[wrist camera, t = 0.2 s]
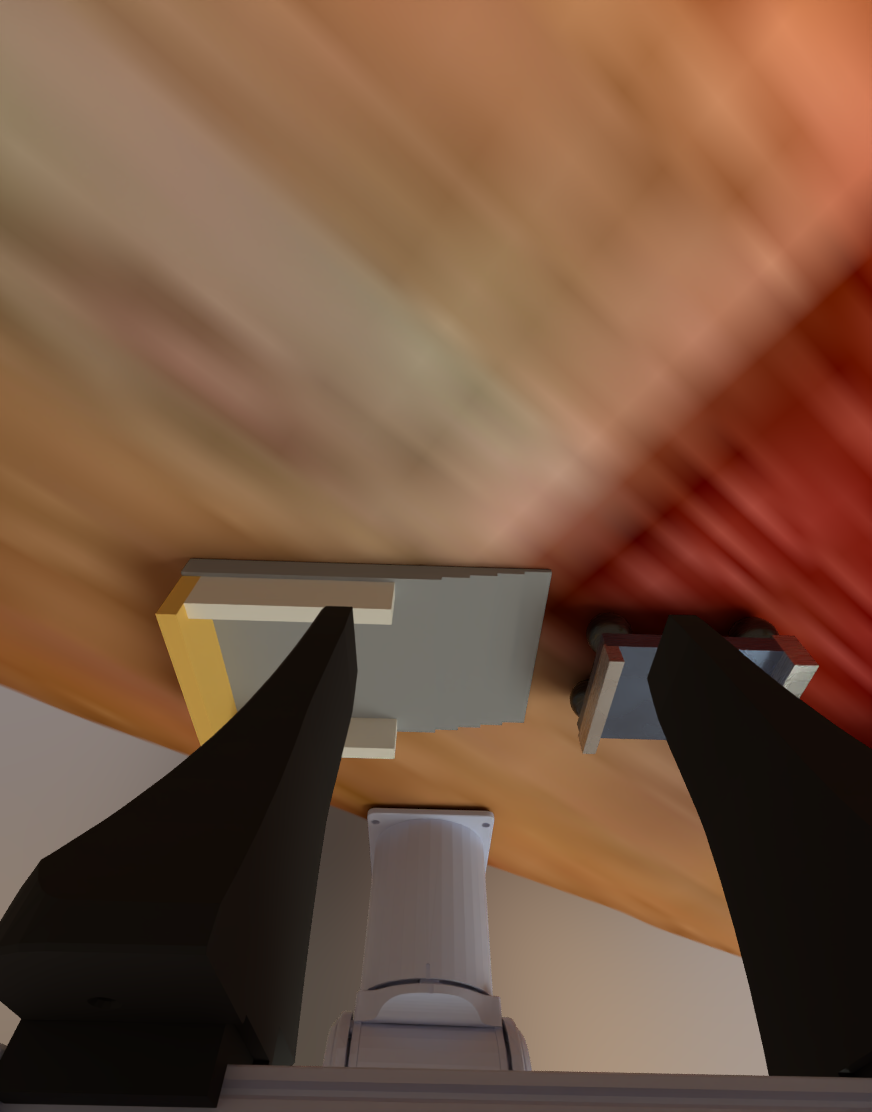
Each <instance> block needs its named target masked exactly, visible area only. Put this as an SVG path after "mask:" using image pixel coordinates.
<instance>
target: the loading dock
mask: <svg viewBox="0 0 872 1112" xmlns="http://www.w3.org/2000/svg"><path fill="white" fill-rule="evenodd" d="M181 574H182V577H181V578H180V579H179V581H178V582H177V584H176V585H175V587H174V588H173V589H172V591H171V592H170V594H169V595H168V597H167V598H166V599H165V601H164V602H163V604H162V605H161V607H160V608H159V609H158V611H157V612H156V614H155V615H156V617H157V620H158V623H159V626H160V629H161V632H162V635H163V638H164V641H165V644H166V647H167V649H168V652H169V655H170V658H171V661H172V664H173V667H174V670H175V673H176V676H177V678H178V681H179V684H180V687H181V690H182V693H183V696H184V699H185V702H186V705H187V707H188V710H189V713H190V716H191V719H192V722H193V725H194V728H195V731H196V734H197V737H198V739H199V742H200V745H201V746H202V745H203V744H204V743H205V742H206V741H207V740H209V739H210V738H211V737H212V736H213V735H214V734H215V733H216V732H217V731H218V730H219V729H221V728H222V727H223V726H224V725H225V724H226V723H227V722H228V721H229V720H230V719H231V718H232V717H233V716H234V715H235V714H236V713H237V712H238V711H239V710H240V709H241V708H242V707H243V706H244V705H245V704H246V703H247V702H248V701H249V700H250V699H251V697H252V696H253V695H254V694H255V693H256V692H257V691H258V690H259V689H260V688H261V686H262V685H263V684H264V683H265V682H266V681H267V680H268V679H269V678H270V676H271V675H272V674H273V673H274V672H275V671H276V669H277V668H278V667H279V666H280V664H281V663H282V662H283V661H284V659H285V658H286V657H287V656H288V655H289V653H290V652H291V651H292V650H293V648H294V647H295V646H296V644H297V643H298V642H299V640H300V639H301V638H302V636H303V635H304V634H305V632H306V631H307V630H308V628H309V627H310V625H311V624H312V623H313V621H314V620H315V618H316V617H317V615H318V614H319V612H320V611H321V610H322V609H323V608H324V607H325V606H348V607H353V619H354V631H355V643H356V656H357V668H358V673H357V681H356V690H355V697H354V705H353V712H352V716H351V721H350V725H349V729H348V733H347V737H346V741H345V745H344V749H343V753H342V757H344V758H380V759H394V758H395V747H396V735H397V731H401V732H435V729H441V730H458V727H480V724H482V725H502V722H518V723H524V718H525V713H526V708H527V702H528V697H529V692H530V686H531V681H532V676H533V670H534V665H535V660H536V654H537V649H538V644H539V638H540V633H541V628H542V622H543V617H544V612H545V606H546V601H547V596H548V590H549V585H550V580H551V574H552V571H551V570H540V569H508V568H476V567H443V566H411V565H379V564H347V563H314V562H282V561H250V560H218V559H190V560H189V561H188V563H187V564H186V565H185V567H184V568H183V570H182V571H181Z"/></svg>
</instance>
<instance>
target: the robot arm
mask: <svg viewBox="0 0 872 1112" xmlns="http://www.w3.org/2000/svg"><path fill="white" fill-rule="evenodd" d="M357 673H358V668H357V656H356V643H355V631H354V619H353V607H348V606H325V607H324V608H323V609H322V610H321V611H320V612H319V614H318V615H317V617H316V618H315V620H314V621H313V623H312V624H311V625H310V627H309V628H308V630H307V631H306V632H305V634H304V635H303V636H302V638H301V639H300V640H299V642H298V643H297V644H296V646H295V647H294V648H293V650H292V651H291V652H290V653H289V655H288V656H287V657H286V658H285V659H284V661H283V662H282V663H281V664H280V666H279V667H278V668H277V669H276V671H275V672H274V673H273V674H272V675H271V676H270V678H269V679H268V680H267V681H266V682H265V683H264V684H263V685H262V686H261V688H260V689H259V690H258V691H257V692H256V693H255V694H254V695H253V696H252V697H251V699H250V700H249V701H248V702H247V703H246V704H245V705H244V706H243V707H242V708H241V709H240V710H239V711H238V712H237V713H236V714H235V715H234V716H233V717H232V718H231V719H230V720H229V721H228V722H227V723H226V724H225V725H224V726H223V727H222V728H221V729H219V730H218V731H217V732H216V733H215V734H214V735H213V736H212V737H211V738H210V739H209V740H207V741H206V742H205V743H204V744H203V745H202V746H201V747H199V748H198V749H197V750H196V751H195V752H194V753H192V754H191V755H190V756H189V757H188V758H187V759H185V760H184V761H183V762H182V763H181V764H179V765H178V766H177V767H176V768H174V769H173V770H172V771H171V772H170V773H168V774H167V775H166V776H164V777H163V778H162V779H160V780H159V781H158V782H156V783H155V784H154V785H152V786H151V787H150V788H148V789H147V790H146V791H144V792H143V793H141V794H140V795H139V796H137V797H136V798H135V799H133V800H132V801H131V802H129V803H128V804H127V805H125V806H124V807H122V808H121V809H120V810H118V811H117V812H116V813H114V814H112V815H111V816H110V817H108V818H107V819H105V820H104V821H102V822H101V823H99V824H97V825H96V826H94V827H93V828H91V829H89V830H88V831H86V832H85V833H83V834H82V835H80V836H79V837H77V838H75V839H74V840H72V841H71V842H69V843H67V844H66V845H64V846H63V847H61V848H60V849H58V850H57V851H55V852H53V853H52V854H50V855H48V856H47V857H45V858H43V859H42V860H41V861H40V862H39V864H38V865H37V866H36V868H35V869H34V871H33V872H32V873H31V875H30V876H29V877H28V879H27V880H26V882H25V883H24V884H23V886H22V887H21V889H20V890H19V892H18V893H17V895H16V897H15V898H14V900H13V901H12V903H11V905H10V906H9V908H8V910H7V911H6V913H5V914H4V916H3V918H2V919H1V921H0V1001H1V1002H2V1003H3V1004H5V1005H6V1006H7V1007H8V1008H9V1009H10V1010H12V1011H13V1012H14V1013H15V1014H16V1015H18V1016H19V1017H20V1018H21V1021H20V1023H19V1024H18V1026H17V1028H16V1030H15V1032H14V1034H13V1036H12V1038H11V1040H10V1042H9V1044H8V1046H6V1045H4V1044H1V1043H0V1112H872V749H871V748H869V747H868V746H866V745H864V744H863V743H861V742H860V741H858V740H857V739H855V738H854V737H852V736H851V735H849V734H848V733H846V732H845V731H843V730H842V729H840V728H839V727H837V726H836V725H835V724H833V723H832V722H830V721H829V720H827V719H826V718H825V717H823V716H822V715H821V714H819V713H818V712H817V711H815V710H814V709H813V708H811V707H810V706H808V705H807V704H806V703H804V702H803V701H802V700H800V699H799V698H798V697H796V696H795V695H794V694H793V693H791V692H790V691H789V690H787V689H786V688H785V687H783V686H782V685H781V684H780V683H778V682H777V681H776V680H775V679H773V678H772V677H771V676H770V675H768V674H767V673H766V672H765V671H764V670H762V669H761V668H760V667H759V666H757V665H756V664H755V663H754V662H753V661H751V660H750V659H749V658H748V657H746V656H745V655H744V654H743V653H742V652H740V651H739V650H738V649H737V648H736V647H735V646H733V645H732V644H731V643H730V642H729V641H727V640H726V639H725V638H724V637H723V636H721V635H720V634H719V633H718V632H716V631H715V630H714V629H713V628H712V627H710V626H709V625H708V624H707V623H705V622H704V621H703V620H701V619H700V618H699V617H697V616H696V615H669V617H668V619H667V622H666V625H665V628H664V631H663V634H662V637H661V639H660V642H659V645H658V648H657V651H656V654H655V657H654V659H653V662H652V665H651V668H650V671H649V674H648V677H647V681H648V685H649V689H650V692H651V696H652V700H653V704H654V707H655V711H656V714H657V717H658V720H659V723H660V725H661V728H662V730H663V733H664V735H665V737H666V740H667V742H668V745H669V747H670V749H671V752H672V754H673V756H674V759H675V761H676V763H677V766H678V768H679V770H680V773H681V775H682V777H683V780H684V782H685V784H686V787H687V789H688V791H689V793H690V796H691V798H692V800H693V803H694V805H695V807H696V810H697V812H698V815H699V817H700V820H701V823H702V825H703V828H704V830H705V833H706V836H707V839H708V842H709V845H710V849H711V852H712V855H713V858H714V861H715V864H716V868H717V871H718V874H719V877H720V880H721V884H722V887H723V891H724V894H725V898H726V901H727V905H728V908H729V911H730V915H731V918H732V922H733V925H734V929H735V933H736V937H737V940H738V944H739V948H740V952H741V956H742V960H743V964H744V968H745V971H746V975H747V979H748V983H749V987H750V991H751V996H752V1000H753V1005H754V1009H755V1013H756V1018H757V1022H758V1026H759V1031H760V1035H761V1040H762V1044H763V1049H764V1054H765V1059H766V1063H767V1069H768V1074H769V1076H752V1075H751V1076H750V1075H705V1074H655V1073H608V1072H562V1071H561V1072H560V1071H532V1069H531V1063H530V1057H529V1052H528V1048H527V1044H526V1041H525V1038H524V1036H523V1035H522V1033H521V1032H520V1031H519V1029H518V1028H517V1027H516V1024H515V1022H514V1021H513V1020H512V1019H511V1018H509V1017H502V1015H501V1000H500V997H499V996H493V991H492V975H491V959H490V944H489V928H488V913H487V896H486V881H485V872H486V866H487V860H488V854H489V848H490V842H491V836H492V830H493V824H494V814H493V813H492V812H490V811H476V810H439V809H402V808H372V809H370V810H369V811H368V815H367V820H368V833H369V845H370V859H371V872H372V884H371V893H370V903H369V912H368V922H367V932H366V941H365V951H364V961H363V970H362V979H361V980H362V981H361V989H360V991H358V992H357V998H356V1007H355V1016H354V1020H353V1012H352V1011H343V1012H342V1013H341V1014H340V1017H339V1018H338V1019H337V1020H336V1021H335V1022H334V1023H333V1024H332V1025H331V1027H330V1030H329V1034H328V1039H327V1045H326V1050H325V1056H324V1062H323V1066H322V1067H321V1066H292V1065H293V1064H294V1063H295V1055H296V1046H297V1037H298V1028H299V1020H300V1011H301V1003H302V994H303V986H304V977H305V970H306V962H307V954H308V946H309V938H310V931H311V923H312V915H313V909H314V901H315V894H316V887H317V880H318V873H319V866H320V858H321V853H322V846H323V840H324V833H325V826H326V821H327V816H328V810H329V806H330V802H331V798H332V794H333V790H334V786H335V782H336V778H337V773H338V769H339V765H340V761H341V757H342V753H343V749H344V745H345V741H346V737H347V733H348V729H349V725H350V721H351V716H352V712H353V705H354V697H355V690H356V681H357Z"/></svg>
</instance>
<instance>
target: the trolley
mask: <svg viewBox="0 0 872 1112" xmlns="http://www.w3.org/2000/svg"><path fill="white" fill-rule="evenodd" d="M586 637H587V641H588V643H589V645H590V647H591V648H592V649H593V650H594V651H595V652H596V657H595V660H594V664H593V667H592V671H591V675H590V678H589V680H586V681H582V682H580V683H578V684H577V685H576V686H575V687H574V688H573V689H572V691H571V694H570V704H571V707H572V710H573V711H574V713H575V714H576V715H577V716H578V717H579V719H578V722H577V726H578V729H579V734H578V737H579V741H580V745H581V749H582V753H583V754H595V753H596V750H597V747H598V744H599V741H600V738H618V739H654V740H666V737H665V735H664V733H663V730H662V728H661V725H660V723H659V720H658V717H657V714H656V711H655V707H654V704H653V700H652V696H651V692H650V689H649V685H648V681H647V677H648V674H649V671H650V668H651V665H652V662H653V659H654V657H655V654H656V651H657V648H658V645H659V642H660V639H661V637H662V635H647V634H633V633H632V629H631V627H630V625H629V623H628V622H627V621H626V620H625V619H624V618H623V617H621V616H620V615H618V614H614V613H603V614H600V615H597V616H596V617H594V618H593V619H592V620H591V622H590V623H589V625H588V627H587V632H586ZM724 638H725V639H726V640H727V641H729V642H730V643H731V644H732V645H733V646H735V647H736V648H737V649H738V650H739V651H740V652H742V653H743V654H744V655H745V656H746V657H748V658H749V659H750V660H751V661H753V662H754V663H755V664H756V665H757V666H759V667H760V668H761V669H762V670H764V671H765V672H766V673H767V674H768V675H770V676H771V677H772V678H773V679H775V680H776V681H777V682H778V683H780V684H781V685H782V686H783V687H785V688H786V689H787V690H789V691H790V692H791V693H793V694H794V695H795V696H796V697H798V698H800V696H801V695H802V693H803V691H804V690H805V688H806V686H807V685H808V683H809V682H810V680H811V678H812V677H813V675H814V673H815V672H816V670H817V668H818V667H819V665H818V664H817V663H816V662H815V660H814V659H813V658H812V657H811V655H810V654H809V653H808V652H807V650H806V649H805V648H804V647H803V646H802V644H801V643H800V642H799V641H798V639H797V638H796V637H795V636H783V635H779V633H778V631H777V630H776V628H775V627H774V626H773V625H772V624H771V623H769V622H768V621H766V620H764V619H761V618H757V617H747V618H744V619H741V620H739V621H737V622H736V623H735V624H734V625H733V626H732V628H731V630H730V632H729V637H724Z"/></svg>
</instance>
